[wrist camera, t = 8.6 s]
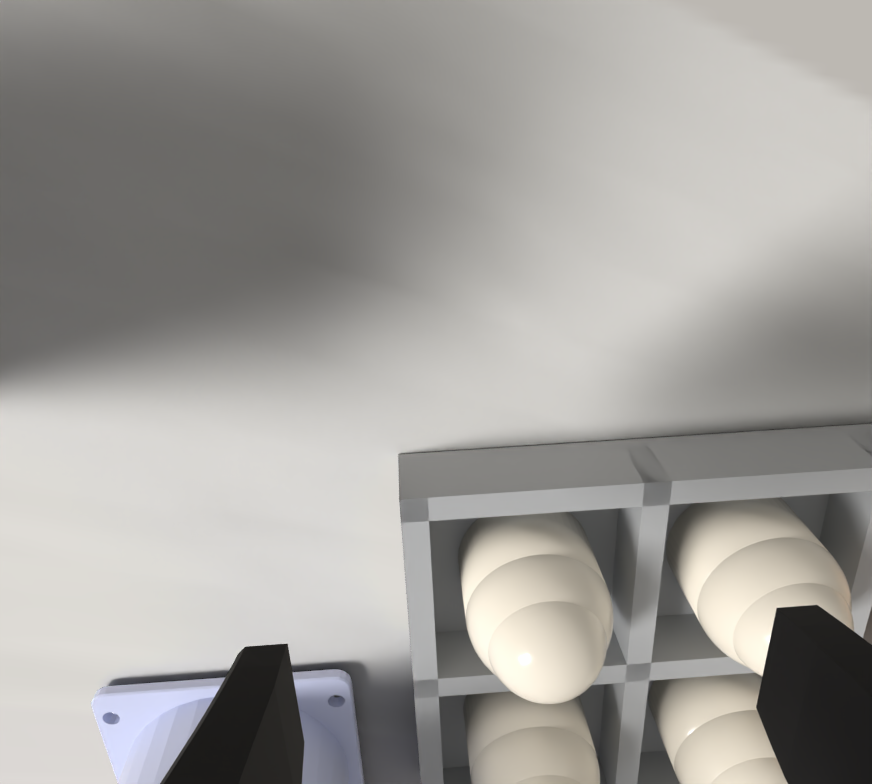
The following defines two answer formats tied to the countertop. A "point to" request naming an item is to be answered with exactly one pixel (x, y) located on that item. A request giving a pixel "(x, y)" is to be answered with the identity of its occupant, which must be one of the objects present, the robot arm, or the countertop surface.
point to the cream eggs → (592, 630)
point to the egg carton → (614, 564)
